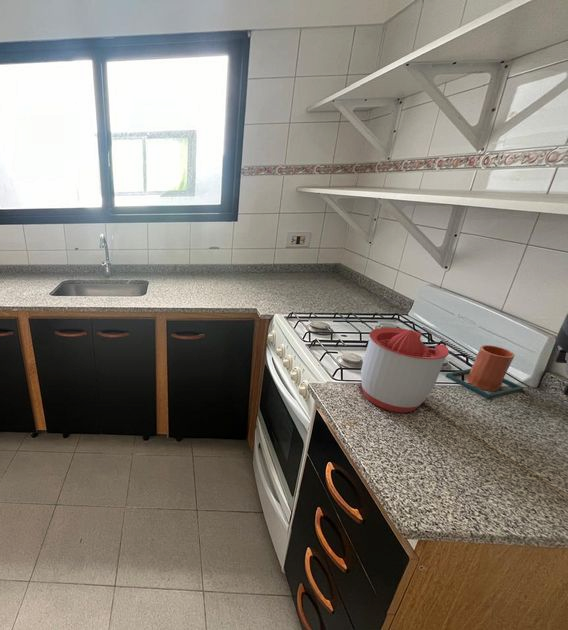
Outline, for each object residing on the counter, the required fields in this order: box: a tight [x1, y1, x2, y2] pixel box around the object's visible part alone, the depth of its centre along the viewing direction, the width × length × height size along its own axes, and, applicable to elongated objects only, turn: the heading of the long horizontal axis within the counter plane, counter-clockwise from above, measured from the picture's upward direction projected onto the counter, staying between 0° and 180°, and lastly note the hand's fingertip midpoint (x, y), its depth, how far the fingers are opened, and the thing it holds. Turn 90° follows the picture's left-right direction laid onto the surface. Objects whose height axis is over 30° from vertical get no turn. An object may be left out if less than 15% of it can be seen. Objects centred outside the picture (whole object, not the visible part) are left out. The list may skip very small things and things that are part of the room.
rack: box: [445, 368, 525, 400], centre depth 92 cm, size 12×10×2 cm
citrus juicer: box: [360, 327, 450, 414], centre depth 85 cm, size 16×17×20 cm
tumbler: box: [466, 344, 516, 392], centre depth 90 cm, size 6×6×11 cm
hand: (566, 377), depth 74 cm, fingers open, 8 cm apart
